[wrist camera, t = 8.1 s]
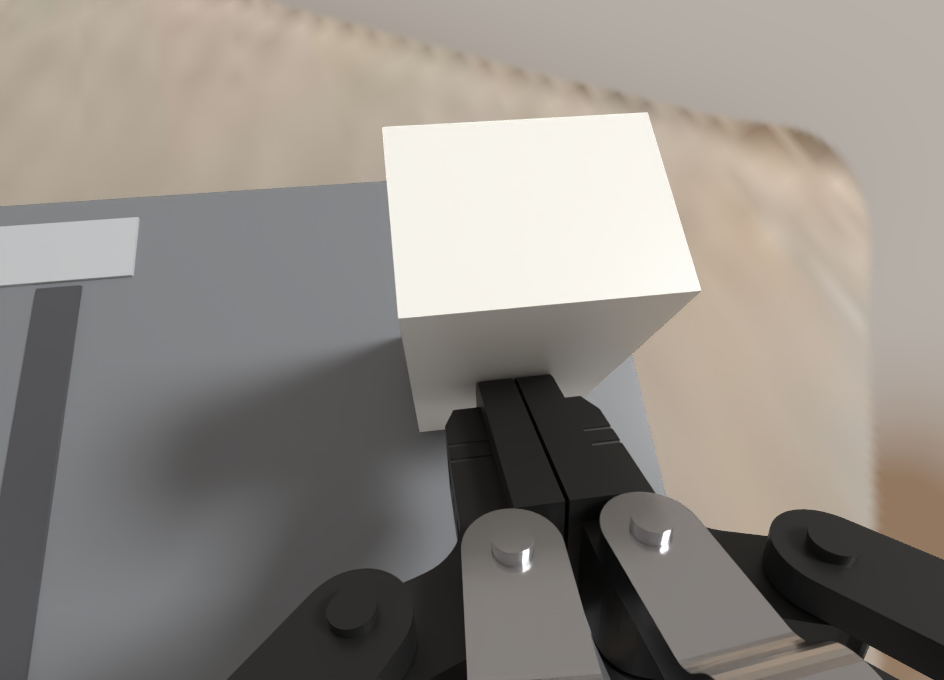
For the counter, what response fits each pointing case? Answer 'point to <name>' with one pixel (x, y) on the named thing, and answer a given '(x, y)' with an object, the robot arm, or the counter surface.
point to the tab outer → (529, 252)
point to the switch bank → (210, 426)
